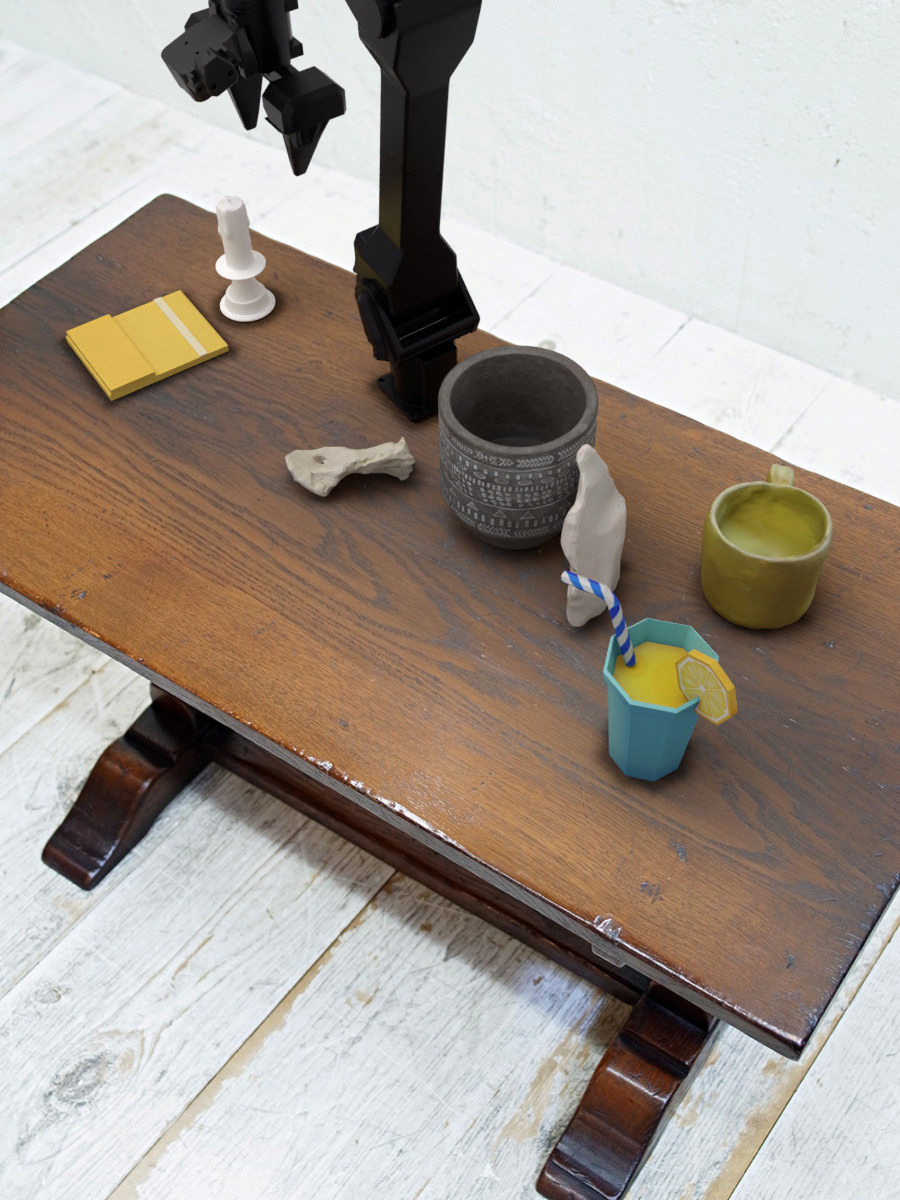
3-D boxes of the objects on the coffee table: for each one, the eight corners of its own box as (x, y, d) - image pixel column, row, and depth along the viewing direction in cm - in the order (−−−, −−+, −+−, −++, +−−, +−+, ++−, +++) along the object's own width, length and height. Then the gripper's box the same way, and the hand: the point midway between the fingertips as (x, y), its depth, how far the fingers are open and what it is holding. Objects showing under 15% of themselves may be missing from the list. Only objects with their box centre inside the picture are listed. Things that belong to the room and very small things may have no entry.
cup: (524, 732, 94) (530, 603, 82) (582, 661, 97) (596, 529, 86) (692, 833, 88) (724, 711, 76) (747, 754, 92) (785, 627, 80)
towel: (229, 351, 120) (227, 340, 119) (111, 401, 116) (108, 391, 115) (181, 295, 126) (179, 285, 125) (67, 341, 122) (63, 331, 121)
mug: (813, 657, 95) (806, 542, 90) (683, 635, 100) (670, 525, 95) (863, 570, 103) (860, 459, 98) (740, 554, 108) (731, 449, 103)
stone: (623, 644, 97) (601, 498, 87) (568, 641, 99) (541, 497, 88) (642, 546, 104) (624, 399, 94) (591, 544, 105) (568, 399, 95)
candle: (266, 325, 122) (248, 217, 113) (212, 318, 123) (190, 211, 114) (282, 291, 126) (266, 183, 116) (230, 284, 126) (210, 176, 117)
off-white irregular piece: (285, 466, 111) (279, 429, 107) (404, 444, 112) (401, 406, 109) (296, 513, 107) (289, 476, 104) (418, 490, 109) (416, 452, 105)
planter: (588, 462, 110) (598, 345, 100) (588, 571, 103) (600, 457, 93) (446, 457, 111) (442, 341, 101) (436, 565, 103) (431, 451, 93)
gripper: (115, -33, 109) (151, 134, 121) (219, 60, 99) (247, 231, 112) (231, -69, 113) (254, 96, 125) (342, 17, 103) (356, 187, 116)
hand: (274, 151), depth 119 cm, fingers open, 9 cm apart
